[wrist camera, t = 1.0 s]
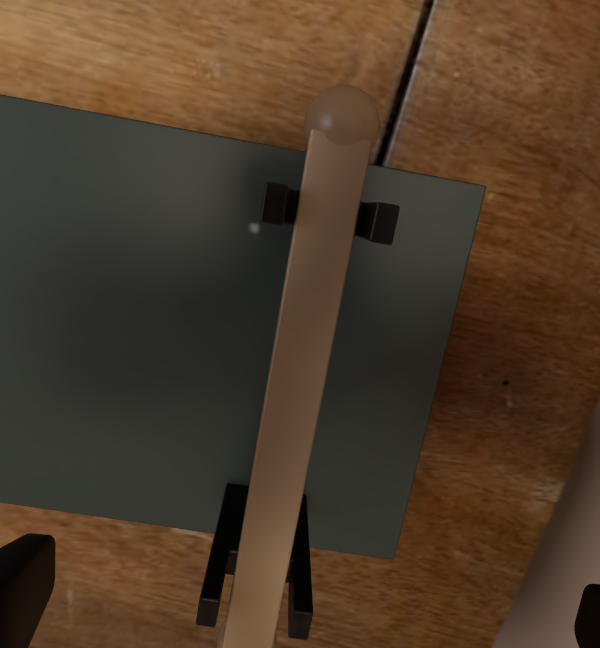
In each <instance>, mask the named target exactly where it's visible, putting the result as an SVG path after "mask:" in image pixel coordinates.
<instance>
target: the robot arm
mask: <svg viewBox="0 0 600 648" xmlns="http://www.w3.org/2000/svg"><path fill="white" fill-rule="evenodd" d="M54 582H55V540H54V538H53V537H52V536H51V535H43V534H31V533H30V534H26V535H24V536H22V537H20V538H18V539H16V540H14V541H12V542H11V543H9V544H7V545H5V546H3V547H1V548H0V648H28V646H29V644H30V642H31V639H32V637H33V635H34V633H35V630H36V628H37V626H38V624H39V621H40V619H41V617H42V614H43V612H44V610H45V608H46V605H47V603H48V601H49V599H50V596H51V594H52V591H53V587H54ZM575 635H576V639H577V642H578V645H579V647H580V648H600V584H589V585H587V586H586V587H585V589H584V591H583V594H582V598H581V602H580V605H579V609H578V613H577V616H576V620H575Z"/></svg>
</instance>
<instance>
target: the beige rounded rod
mask: <svg viewBox="0 0 600 648" xmlns="http://www.w3.org/2000/svg"><path fill="white" fill-rule="evenodd" d="M304 129H305V136H306V139H307V142H308V147H307V153H306V159H305V164H304V170H303V176H302V182H301V188H300V193H299V199H298V205H297V211H296V217H295V223H294V228H293V234H292V240H291V246H290V252H289V257H288V263H287V269H286V275H285V281H284V287H283V292H282V298H281V304H280V310H279V316H278V321H277V327H276V333H275V339H274V345H273V350H272V356H271V362H270V368H269V374H268V380H267V385H266V391H265V397H264V403H263V409H262V414H261V420H260V426H259V432H258V438H257V443H256V449H255V455H254V461H253V467H252V473H251V478H250V484H249V490H248V496H247V502H246V507H245V513H244V519H243V525H242V531H241V536H240V542H239V548H238V554H237V560H236V566H235V571H234V577H233V583H232V589H231V595H230V600H229V606H228V612H227V618H226V620H225V621H224V622H223V624H222V626H221V628H220V630H219V633H218V637H217V648H276V644H277V641H276V628H277V623H278V618H279V613H280V608H281V603H282V598H283V593H284V588H285V583H286V578H287V573H288V568H289V562H290V557H291V552H292V547H293V542H294V537H295V532H296V527H297V522H298V517H299V512H300V507H301V502H302V497H303V492H304V487H305V482H306V477H307V471H308V466H309V461H310V456H311V451H312V446H313V441H314V436H315V431H316V426H317V421H318V416H319V411H320V406H321V401H322V396H323V391H324V386H325V381H326V375H327V370H328V365H329V360H330V355H331V350H332V345H333V340H334V335H335V330H336V325H337V320H338V315H339V310H340V305H341V300H342V295H343V290H344V285H345V279H346V274H347V269H348V264H349V259H350V254H351V249H352V244H353V239H354V234H355V229H356V224H357V219H358V214H359V209H360V204H361V199H362V194H363V189H364V183H365V178H366V173H367V168H368V163H369V158H370V153H371V149H372V148H373V146H374V145H375V143H376V140H377V138H378V134H379V129H380V119H379V114H378V110H377V108H376V105H375V103H374V102H373V100H372V99H371V98H370V97H369V95H368V94H366V93H365V92H364V91H362V90H361V89H359V88H357V87H354V86H350V85H337V86H332V87H329V88H327V89H325V90H324V91H322V92H321V93H320V94H318V95H317V96H316V97H315V99H314V100H313V101H312V103H311V104H310V106H309V108H308V110H307V113H306V117H305V123H304Z"/></svg>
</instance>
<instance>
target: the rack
mask: <svg viewBox="0 0 600 648" xmlns="http://www.w3.org/2000/svg"><path fill="white" fill-rule="evenodd" d="M306 153H307V152H303V151H298V150H293V149H287V148H282V147H277V146H271V145H266V144H261V143H255V142H250V141H245V140H239V139H234V138H229V137H223V136H218V135H213V134H208V133H202V132H197V131H192V130H186V129H181V128H176V127H170V126H165V125H160V124H154V123H149V122H144V121H138V120H133V119H128V118H122V117H117V116H112V115H107V114H101V113H96V112H91V111H85V110H80V109H75V108H69V107H64V106H59V105H53V104H48V103H43V102H37V101H32V100H27V99H21V98H16V97H11V96H6V95H0V502H2V503H9V504H16V505H23V506H29V507H36V508H43V509H50V510H57V511H64V512H71V513H77V514H84V515H91V516H98V517H105V518H112V519H119V520H125V521H132V522H139V523H146V524H153V525H160V526H166V527H173V528H180V529H187V530H194V531H201V532H208V533H214V534H215V535H214V539H213V544H212V548H211V552H210V556H209V561H208V565H207V569H206V574H205V578H204V582H203V586H202V591H201V595H200V600H199V606H198V613H197V619H196V624H197V625H201V626H208V627H215V625H216V622H217V616H218V611H219V605H220V599H221V594H222V588H223V583H224V577H225V574H230V575H234V571H235V566H236V560H237V554H238V548H239V542H240V536H241V531H242V525H243V519H244V513H245V507H246V502H247V496H248V490H249V484H250V478H251V473H252V467H253V461H254V455H255V449H256V443H257V438H258V432H259V426H260V420H261V414H262V409H263V403H264V397H265V391H266V385H267V380H268V374H269V368H270V362H271V356H272V350H273V345H274V339H275V333H276V327H277V321H278V316H279V310H280V304H281V298H282V292H283V287H284V281H285V275H286V269H287V263H288V257H289V252H290V246H291V240H292V234H293V228H294V223H295V217H296V211H297V205H298V199H299V193H300V188H301V182H302V176H303V170H304V164H305V159H306ZM485 189H486V186H484V185H479V184H473V183H468V182H463V181H457V180H452V179H447V178H441V177H436V176H431V175H425V174H420V173H415V172H410V171H404V170H399V169H394V168H388V167H383V166H378V165H372V164H368V168H367V173H366V178H365V183H364V189H363V194H362V199H361V204H360V209H359V214H358V219H357V224H356V229H355V234H354V239H353V244H352V249H351V254H350V259H349V264H348V269H347V274H346V279H345V285H344V290H343V295H342V300H341V305H340V310H339V315H338V320H337V325H336V330H335V335H334V340H333V345H332V350H331V355H330V360H329V365H328V370H327V375H326V381H325V386H324V391H323V396H322V401H321V406H320V411H319V416H318V421H317V426H316V431H315V436H314V441H313V446H312V451H311V456H310V461H309V466H308V471H307V477H306V482H305V487H304V492H303V497H302V502H301V507H300V512H299V517H298V522H297V527H296V532H295V537H294V542H293V547H292V552H291V557H290V562H289V568H288V573H287V578H286V583H289V598H288V636H289V638H294V639H302V640H307V639H308V635H309V630H310V625H311V621H312V616H313V603H312V584H311V565H310V548H317V549H324V550H331V551H338V552H345V553H352V554H358V555H365V556H372V557H379V558H386V559H394V556H395V552H396V548H397V544H398V540H399V536H400V532H401V528H402V524H403V520H404V516H405V512H406V508H407V504H408V500H409V496H410V492H411V488H412V484H413V480H414V476H415V472H416V468H417V464H418V459H419V455H420V451H421V447H422V443H423V439H424V435H425V431H426V427H427V423H428V419H429V415H430V411H431V407H432V403H433V399H434V395H435V391H436V387H437V383H438V379H439V375H440V371H441V367H442V363H443V359H444V355H445V351H446V347H447V343H448V339H449V334H450V330H451V326H452V322H453V318H454V314H455V310H456V306H457V302H458V298H459V294H460V290H461V286H462V282H463V278H464V274H465V270H466V266H467V262H468V258H469V254H470V250H471V246H472V242H473V238H474V234H475V230H476V226H477V222H478V218H479V214H480V209H481V205H482V201H483V197H484V193H485Z"/></svg>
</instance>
